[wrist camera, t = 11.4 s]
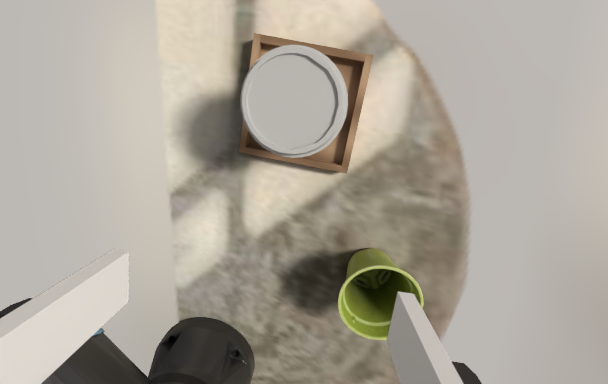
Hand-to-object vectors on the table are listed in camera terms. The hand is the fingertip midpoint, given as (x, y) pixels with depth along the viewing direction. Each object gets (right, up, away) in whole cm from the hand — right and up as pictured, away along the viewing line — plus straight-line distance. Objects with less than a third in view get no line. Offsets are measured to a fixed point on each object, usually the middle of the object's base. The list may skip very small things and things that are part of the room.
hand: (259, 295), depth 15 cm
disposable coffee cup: (+2, +15, +23) cm, 27 cm away
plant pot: (+11, -5, +28) cm, 31 cm away
